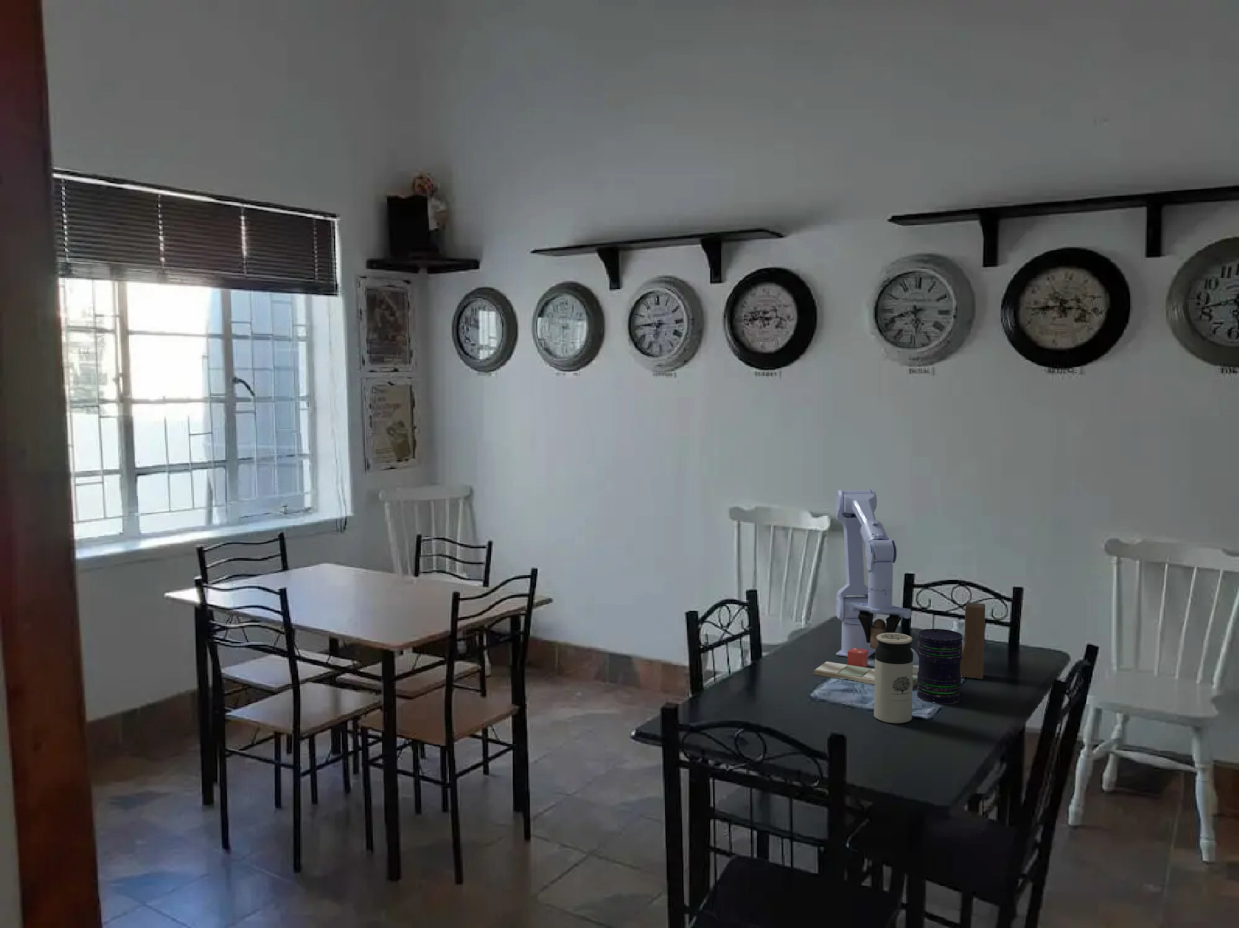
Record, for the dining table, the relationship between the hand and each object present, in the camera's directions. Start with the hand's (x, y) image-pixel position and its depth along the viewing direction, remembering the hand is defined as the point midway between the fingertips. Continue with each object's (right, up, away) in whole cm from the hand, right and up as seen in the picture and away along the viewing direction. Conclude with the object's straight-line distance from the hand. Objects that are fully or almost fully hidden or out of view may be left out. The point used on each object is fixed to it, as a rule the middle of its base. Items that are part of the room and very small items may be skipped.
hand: (879, 643), depth 242 cm
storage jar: (+10, -10, -13) cm, 19 cm away
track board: (-3, -9, +2) cm, 9 cm away
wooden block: (+22, -9, +4) cm, 24 cm away
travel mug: (-4, -12, -26) cm, 29 cm away
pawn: (0, -1, 0) cm, 1 cm away
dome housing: (+9, -8, +7) cm, 14 cm away
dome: (+9, -8, +7) cm, 14 cm away
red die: (-3, -8, +12) cm, 14 cm away
